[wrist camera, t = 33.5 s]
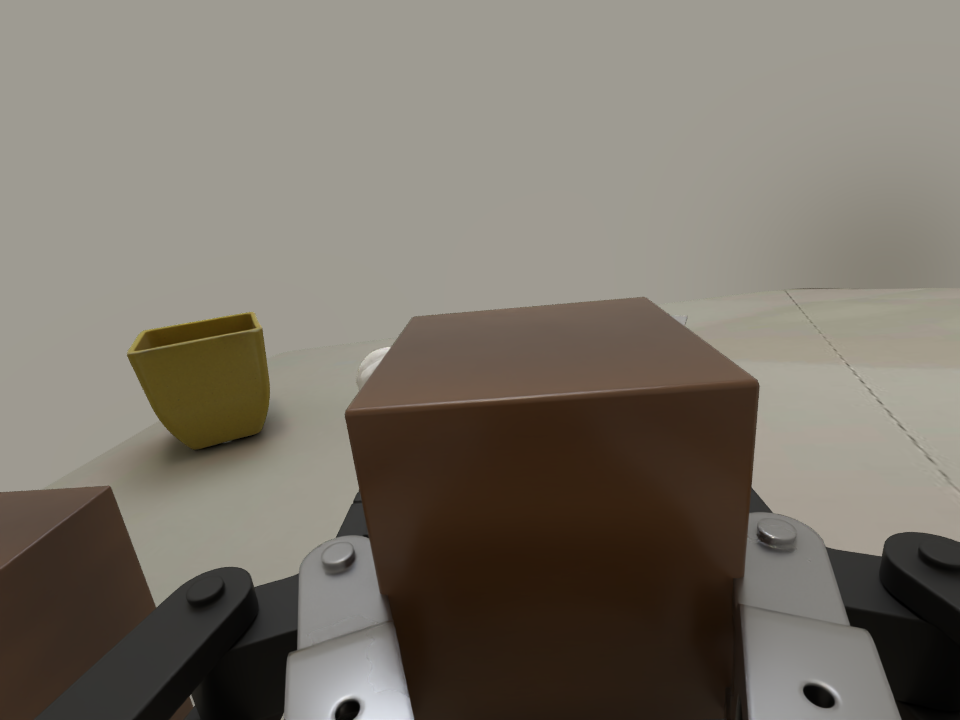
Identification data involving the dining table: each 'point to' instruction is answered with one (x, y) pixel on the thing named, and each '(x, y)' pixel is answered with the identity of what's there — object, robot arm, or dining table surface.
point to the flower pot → (205, 378)
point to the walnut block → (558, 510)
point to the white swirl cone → (369, 365)
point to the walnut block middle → (63, 592)
